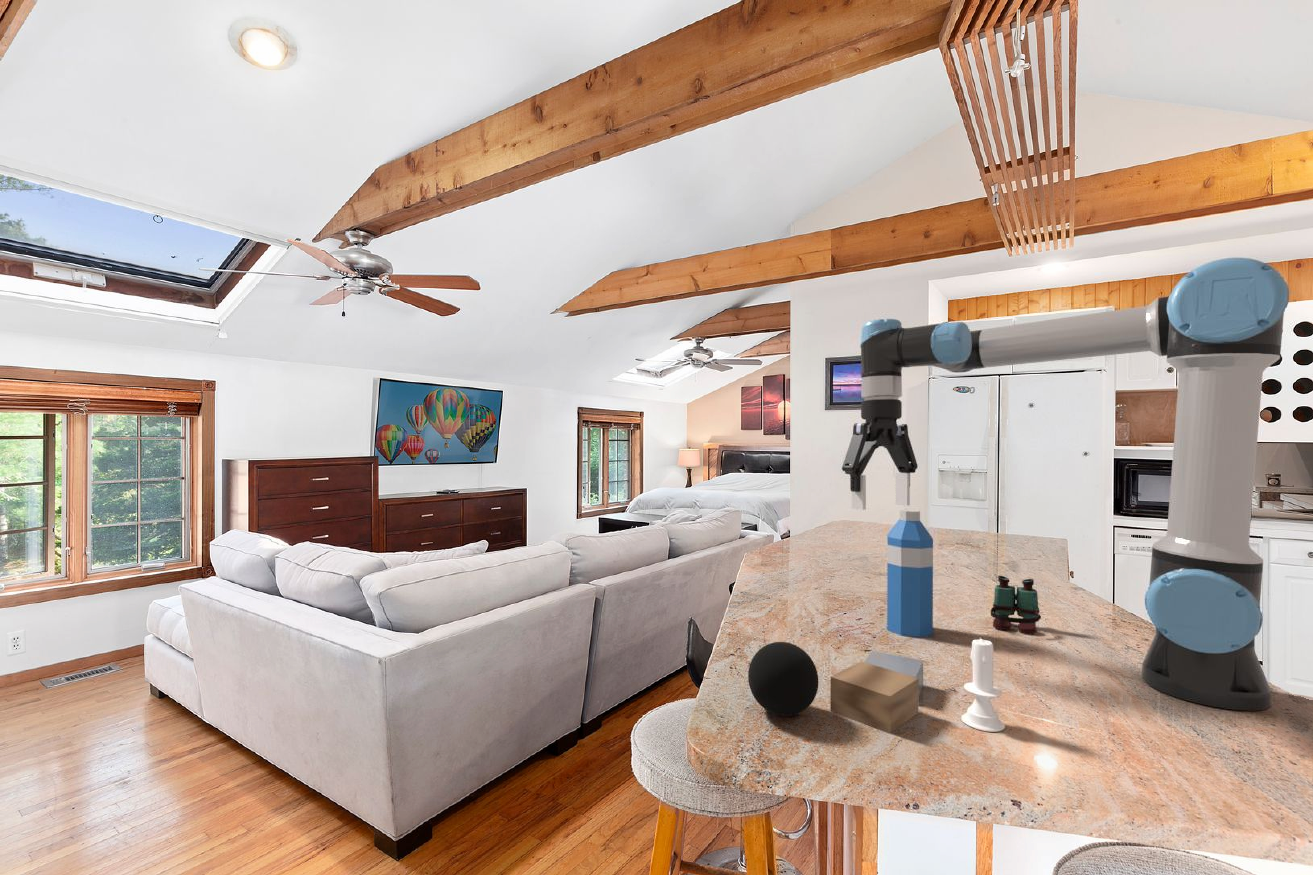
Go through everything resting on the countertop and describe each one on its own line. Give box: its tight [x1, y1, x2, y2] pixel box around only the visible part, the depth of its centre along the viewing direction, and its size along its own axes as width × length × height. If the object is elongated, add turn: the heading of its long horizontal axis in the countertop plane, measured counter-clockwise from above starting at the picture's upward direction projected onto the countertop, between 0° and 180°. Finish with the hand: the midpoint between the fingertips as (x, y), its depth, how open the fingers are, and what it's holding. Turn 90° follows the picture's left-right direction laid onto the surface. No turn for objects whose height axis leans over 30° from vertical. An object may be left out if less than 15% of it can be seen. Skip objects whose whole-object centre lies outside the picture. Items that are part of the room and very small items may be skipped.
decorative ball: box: [747, 641, 819, 717], centre depth 87 cm, size 10×10×10 cm
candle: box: [961, 637, 1006, 733], centre depth 84 cm, size 5×5×12 cm
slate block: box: [863, 650, 924, 695], centre depth 95 cm, size 8×8×4 cm
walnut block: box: [829, 661, 920, 734], centre depth 87 cm, size 9×9×5 cm
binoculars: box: [990, 575, 1042, 635], centre depth 125 cm, size 9×11×10 cm
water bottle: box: [886, 508, 934, 638], centre depth 124 cm, size 9×9×25 cm
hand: (881, 507), depth 117 cm, fingers open, 13 cm apart
